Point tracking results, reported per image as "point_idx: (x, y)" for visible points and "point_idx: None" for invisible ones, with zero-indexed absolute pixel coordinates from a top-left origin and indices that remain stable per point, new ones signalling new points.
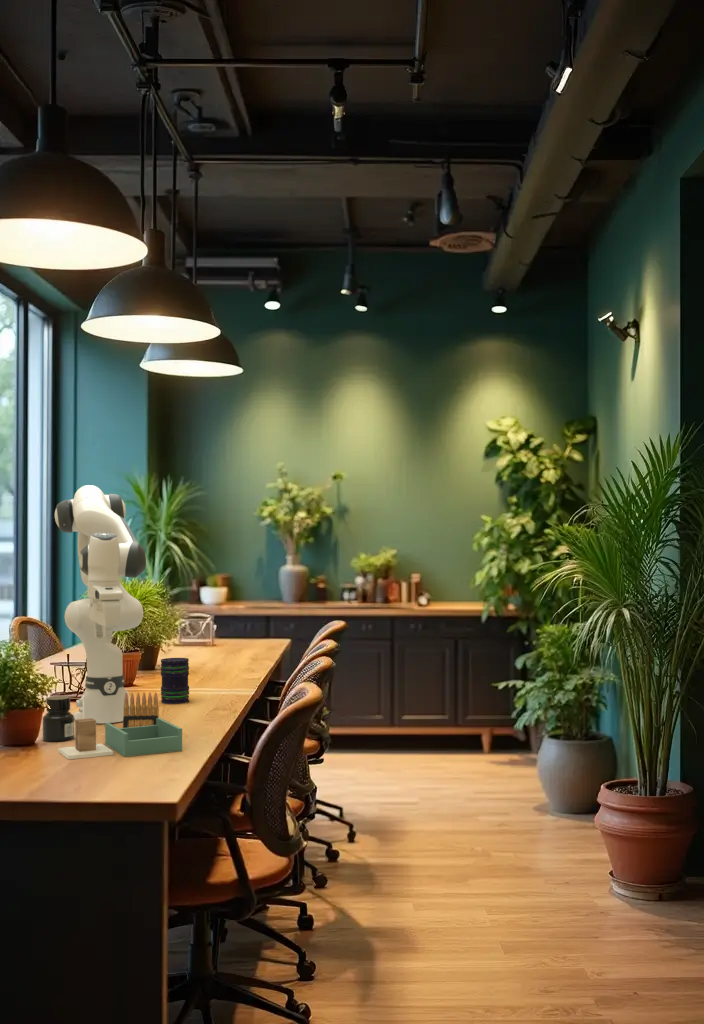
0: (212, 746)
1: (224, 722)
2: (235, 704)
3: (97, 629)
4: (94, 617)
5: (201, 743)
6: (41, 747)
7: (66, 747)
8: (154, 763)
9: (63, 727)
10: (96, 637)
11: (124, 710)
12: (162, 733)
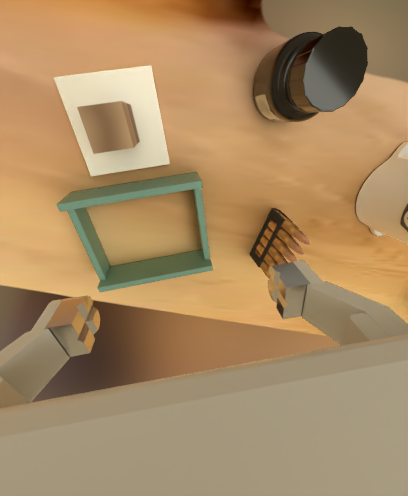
0: (128, 303)
1: (273, 321)
2: None
3: (324, 304)
4: (342, 416)
5: (152, 294)
6: (211, 30)
7: (150, 86)
8: (10, 230)
9: (262, 91)
10: (281, 264)
11: (289, 225)
12: (179, 260)
